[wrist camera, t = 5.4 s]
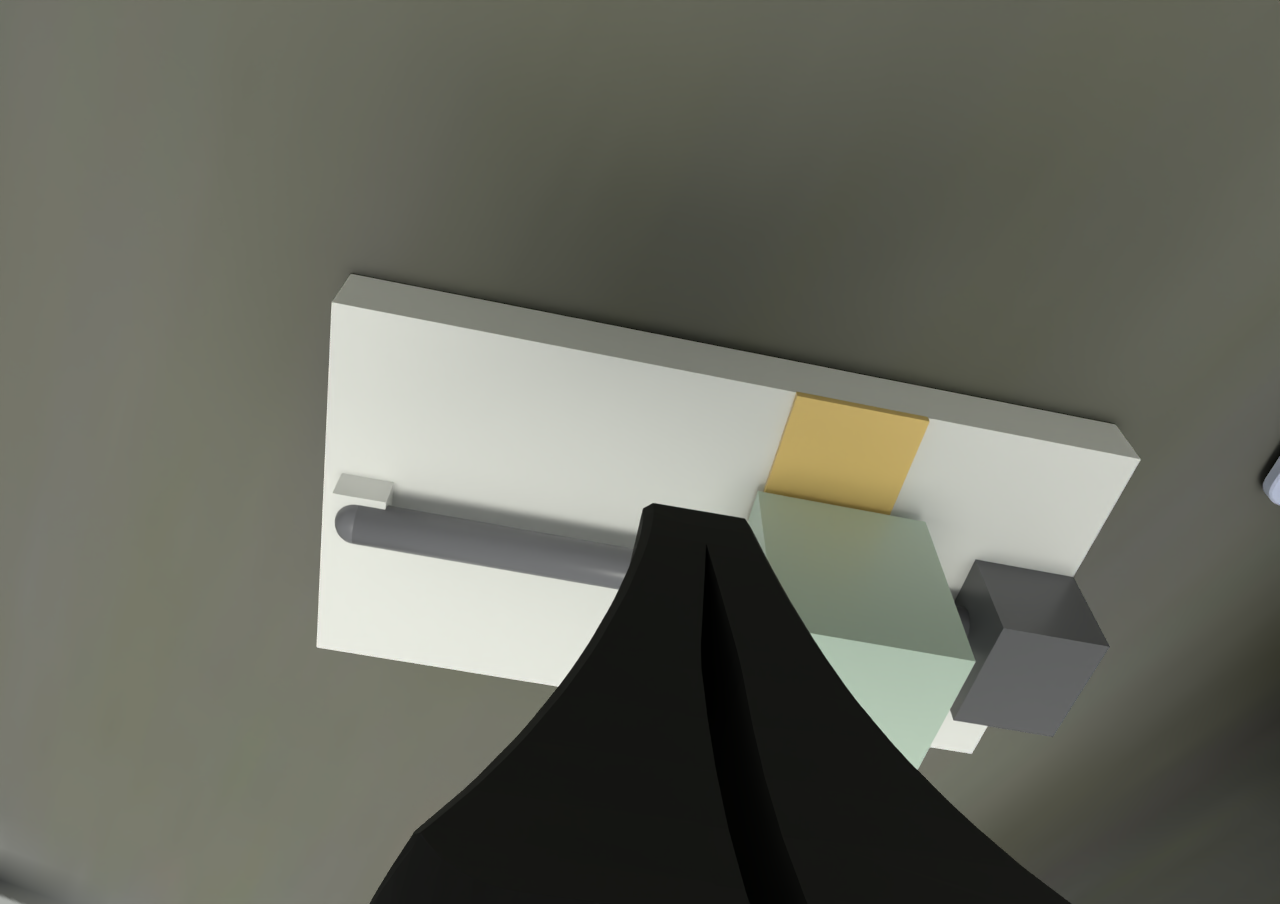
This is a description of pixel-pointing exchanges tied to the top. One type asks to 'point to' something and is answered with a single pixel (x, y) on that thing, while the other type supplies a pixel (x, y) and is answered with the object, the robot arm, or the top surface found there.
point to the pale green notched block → (872, 609)
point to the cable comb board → (673, 489)
